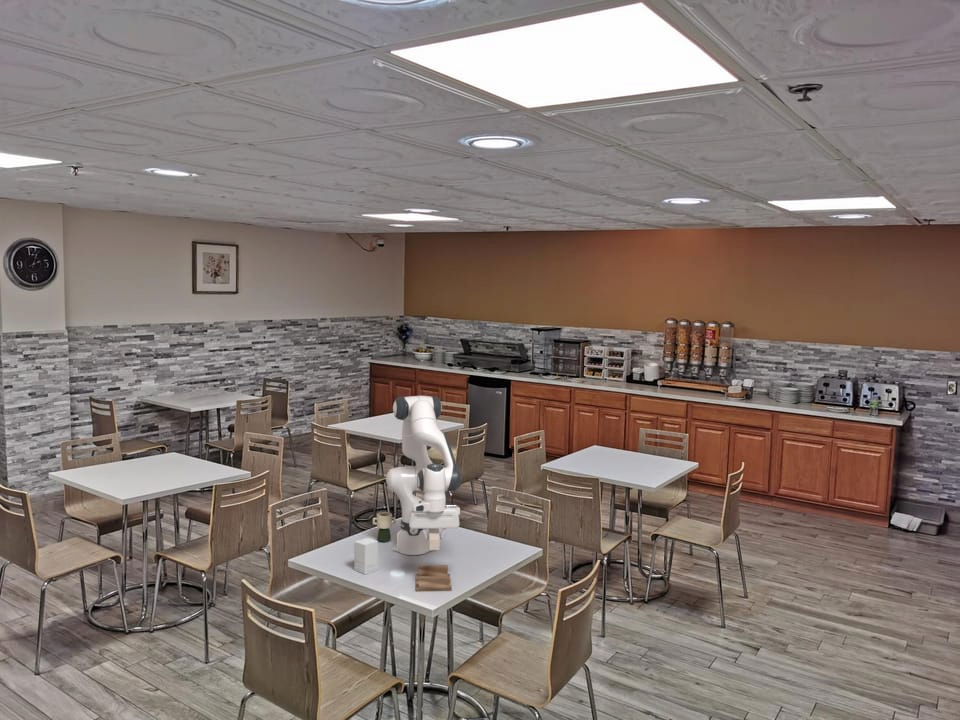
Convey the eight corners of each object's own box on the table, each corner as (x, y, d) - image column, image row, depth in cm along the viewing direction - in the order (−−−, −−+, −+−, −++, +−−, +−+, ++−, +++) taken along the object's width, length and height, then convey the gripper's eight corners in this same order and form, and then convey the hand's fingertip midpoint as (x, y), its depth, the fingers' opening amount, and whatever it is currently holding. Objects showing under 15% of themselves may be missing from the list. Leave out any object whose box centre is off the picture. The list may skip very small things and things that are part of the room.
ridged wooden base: (415, 576, 294) (416, 565, 293) (449, 576, 295) (449, 564, 295) (416, 591, 279) (416, 579, 278) (451, 590, 280) (451, 578, 280)
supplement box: (378, 570, 300) (378, 541, 299) (364, 574, 295) (365, 545, 294) (367, 565, 305) (367, 537, 304) (353, 570, 300) (353, 541, 299)
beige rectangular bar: (428, 536, 293) (428, 527, 293) (438, 536, 294) (438, 527, 293) (429, 549, 277) (429, 539, 277) (439, 549, 278) (439, 539, 277)
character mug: (395, 538, 343) (395, 511, 342) (395, 542, 336) (396, 515, 335) (372, 538, 341) (372, 511, 340) (372, 543, 334) (372, 516, 333)
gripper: (459, 502, 289) (459, 535, 290) (409, 502, 287) (408, 536, 288) (460, 506, 282) (460, 540, 283) (409, 507, 280) (408, 541, 281)
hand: (434, 538), depth 285 cm, fingers closed on beige rectangular bar, 4 cm apart
